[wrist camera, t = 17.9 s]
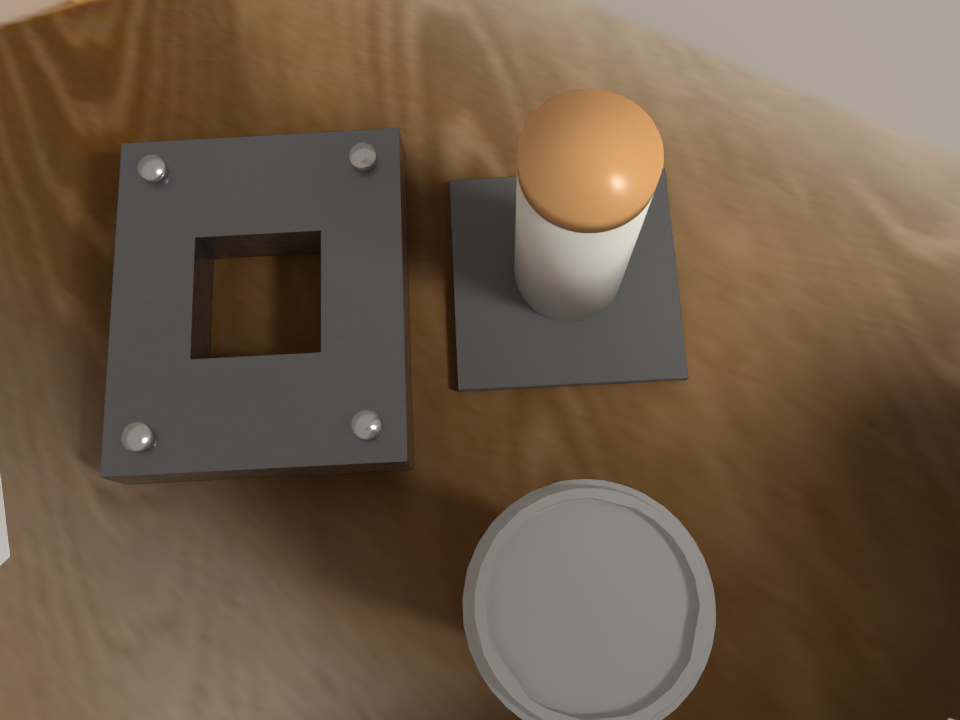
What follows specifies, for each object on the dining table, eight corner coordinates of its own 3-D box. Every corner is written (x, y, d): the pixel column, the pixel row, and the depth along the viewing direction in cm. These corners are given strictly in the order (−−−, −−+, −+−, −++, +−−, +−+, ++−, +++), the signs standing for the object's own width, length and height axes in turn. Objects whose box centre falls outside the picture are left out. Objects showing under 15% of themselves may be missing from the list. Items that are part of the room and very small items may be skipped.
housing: (404, 154, 50) (397, 122, 47) (413, 469, 45) (406, 459, 42) (143, 169, 50) (116, 138, 47) (125, 484, 46) (94, 475, 42)
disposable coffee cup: (462, 517, 45) (447, 491, 33) (648, 495, 45) (698, 460, 33) (484, 717, 42) (476, 763, 31) (680, 692, 42) (747, 730, 31)
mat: (663, 172, 49) (664, 168, 49) (686, 379, 46) (688, 377, 46) (450, 184, 49) (449, 180, 49) (458, 391, 46) (458, 389, 46)
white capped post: (622, 222, 48) (663, 91, 35) (621, 323, 47) (664, 223, 34) (516, 218, 48) (520, 86, 36) (511, 319, 47) (514, 218, 34)
